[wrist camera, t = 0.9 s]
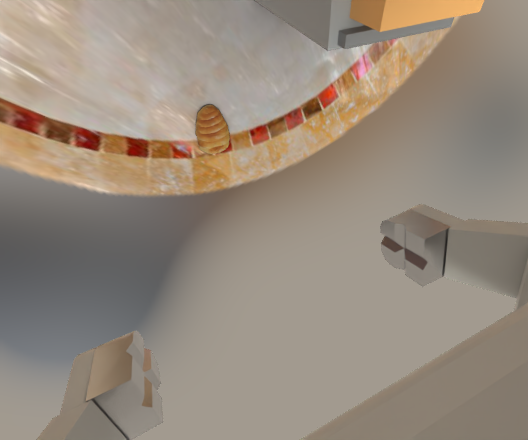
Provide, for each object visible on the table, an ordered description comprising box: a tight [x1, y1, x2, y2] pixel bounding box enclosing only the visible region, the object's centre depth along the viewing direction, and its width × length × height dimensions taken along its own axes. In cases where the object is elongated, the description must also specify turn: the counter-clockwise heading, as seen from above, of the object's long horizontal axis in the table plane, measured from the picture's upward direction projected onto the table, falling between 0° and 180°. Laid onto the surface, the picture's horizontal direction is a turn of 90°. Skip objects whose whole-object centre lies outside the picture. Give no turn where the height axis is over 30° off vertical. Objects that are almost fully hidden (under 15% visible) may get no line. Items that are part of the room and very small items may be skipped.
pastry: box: [195, 105, 230, 154], centre depth 57 cm, size 9×7×4 cm
